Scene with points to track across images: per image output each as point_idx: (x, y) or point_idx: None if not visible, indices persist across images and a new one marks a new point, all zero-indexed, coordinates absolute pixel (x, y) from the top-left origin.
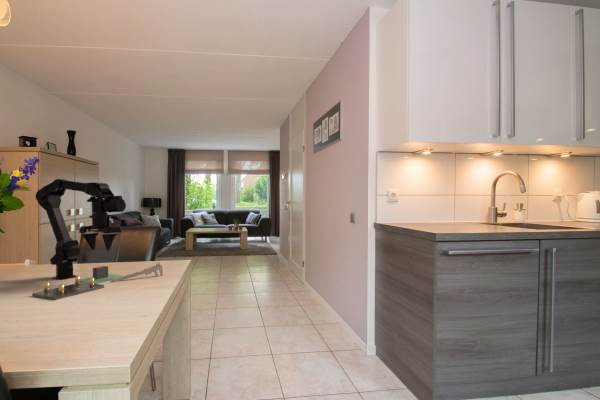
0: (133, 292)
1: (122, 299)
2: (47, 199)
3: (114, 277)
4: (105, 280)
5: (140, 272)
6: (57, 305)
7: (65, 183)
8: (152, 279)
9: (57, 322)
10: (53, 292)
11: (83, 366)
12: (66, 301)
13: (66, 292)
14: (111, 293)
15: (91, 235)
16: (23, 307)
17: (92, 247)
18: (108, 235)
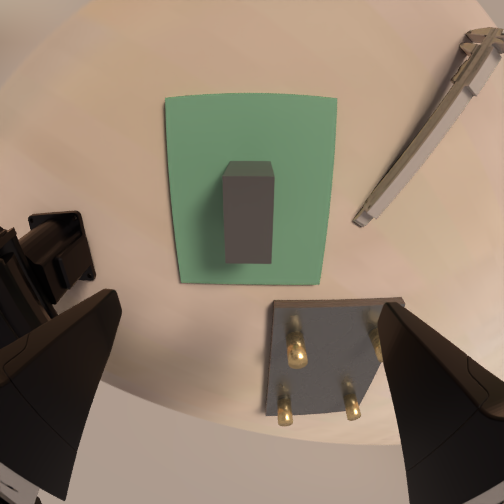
0: (499, 291)
1: (491, 336)
2: None
3: (321, 158)
4: (327, 225)
5: (457, 111)
6: (391, 408)
7: None
8: (486, 117)
9: None
10: (315, 400)
11: None
12: (390, 395)
13: (352, 389)
14: (456, 324)
15: (30, 451)
16: (336, 431)
17: (112, 332)
18: (469, 477)
